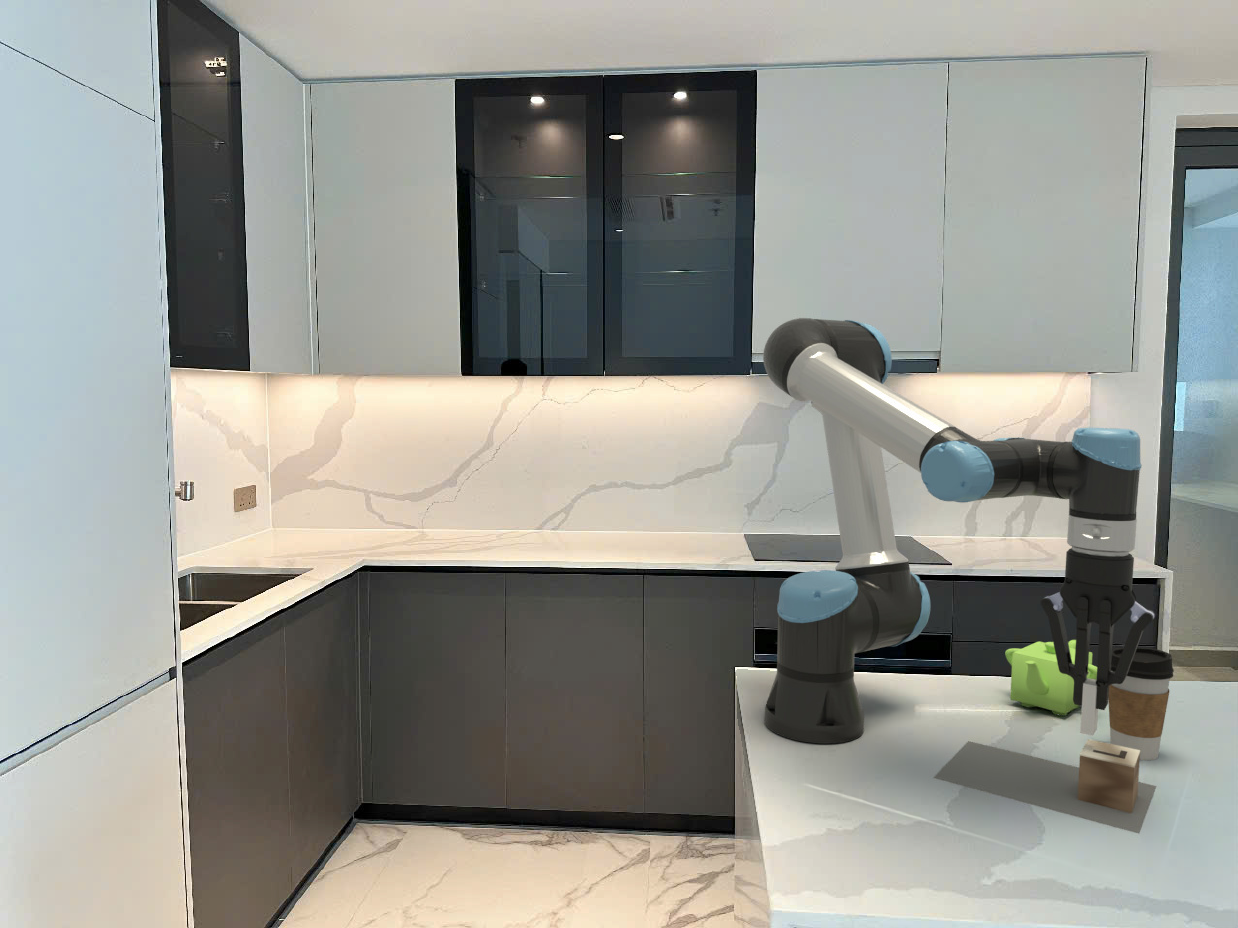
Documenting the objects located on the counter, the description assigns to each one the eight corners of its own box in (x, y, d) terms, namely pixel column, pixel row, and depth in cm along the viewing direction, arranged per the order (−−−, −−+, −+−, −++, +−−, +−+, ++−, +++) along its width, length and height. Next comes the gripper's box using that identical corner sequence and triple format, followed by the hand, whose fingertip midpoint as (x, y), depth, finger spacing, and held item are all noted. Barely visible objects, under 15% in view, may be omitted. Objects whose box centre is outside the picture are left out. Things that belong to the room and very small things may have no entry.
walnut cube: (1134, 765, 108) (1131, 813, 109) (1140, 749, 113) (1137, 795, 114) (1080, 753, 112) (1077, 799, 112) (1087, 738, 117) (1085, 782, 117)
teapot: (1073, 692, 154) (1076, 632, 153) (1118, 720, 141) (1122, 655, 140) (986, 691, 154) (989, 631, 153) (1023, 720, 140) (1027, 655, 139)
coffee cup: (1178, 768, 123) (1185, 662, 121) (1112, 762, 124) (1118, 658, 123) (1154, 744, 131) (1160, 645, 130) (1092, 739, 133) (1098, 642, 131)
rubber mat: (933, 779, 118) (933, 777, 118) (968, 742, 131) (968, 740, 131) (1139, 835, 104) (1139, 833, 104) (1156, 788, 116) (1156, 785, 116)
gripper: (1037, 548, 113) (1027, 727, 115) (1156, 561, 105) (1142, 753, 107) (1050, 540, 119) (1040, 710, 121) (1163, 552, 111) (1150, 734, 113)
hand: (1088, 730), depth 114 cm, fingers closed
